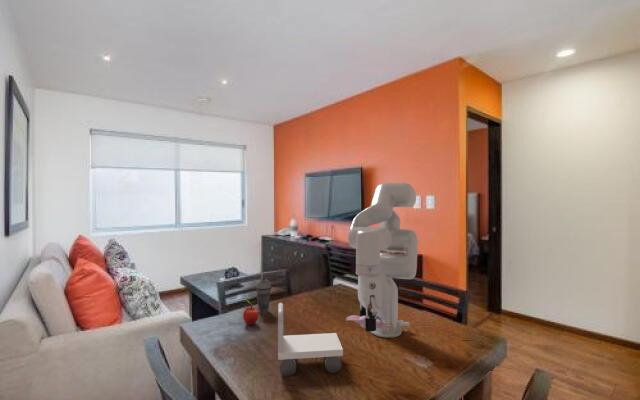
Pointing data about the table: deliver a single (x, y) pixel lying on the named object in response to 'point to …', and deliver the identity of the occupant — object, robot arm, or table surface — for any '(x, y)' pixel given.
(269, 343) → the table surface
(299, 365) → the table surface
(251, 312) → the apple
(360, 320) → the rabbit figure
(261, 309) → the beverage cup
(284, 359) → the trolley
